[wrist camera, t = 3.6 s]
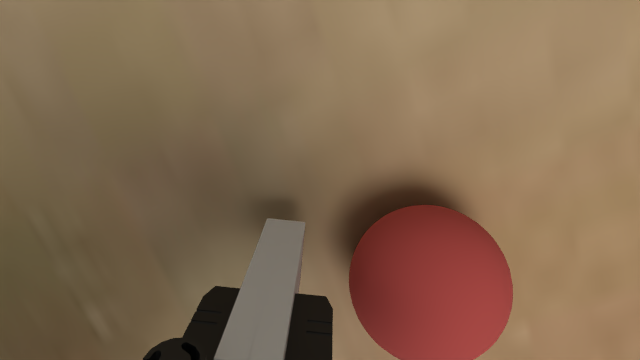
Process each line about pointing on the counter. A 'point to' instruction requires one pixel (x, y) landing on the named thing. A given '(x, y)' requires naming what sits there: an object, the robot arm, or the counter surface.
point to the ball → (430, 285)
